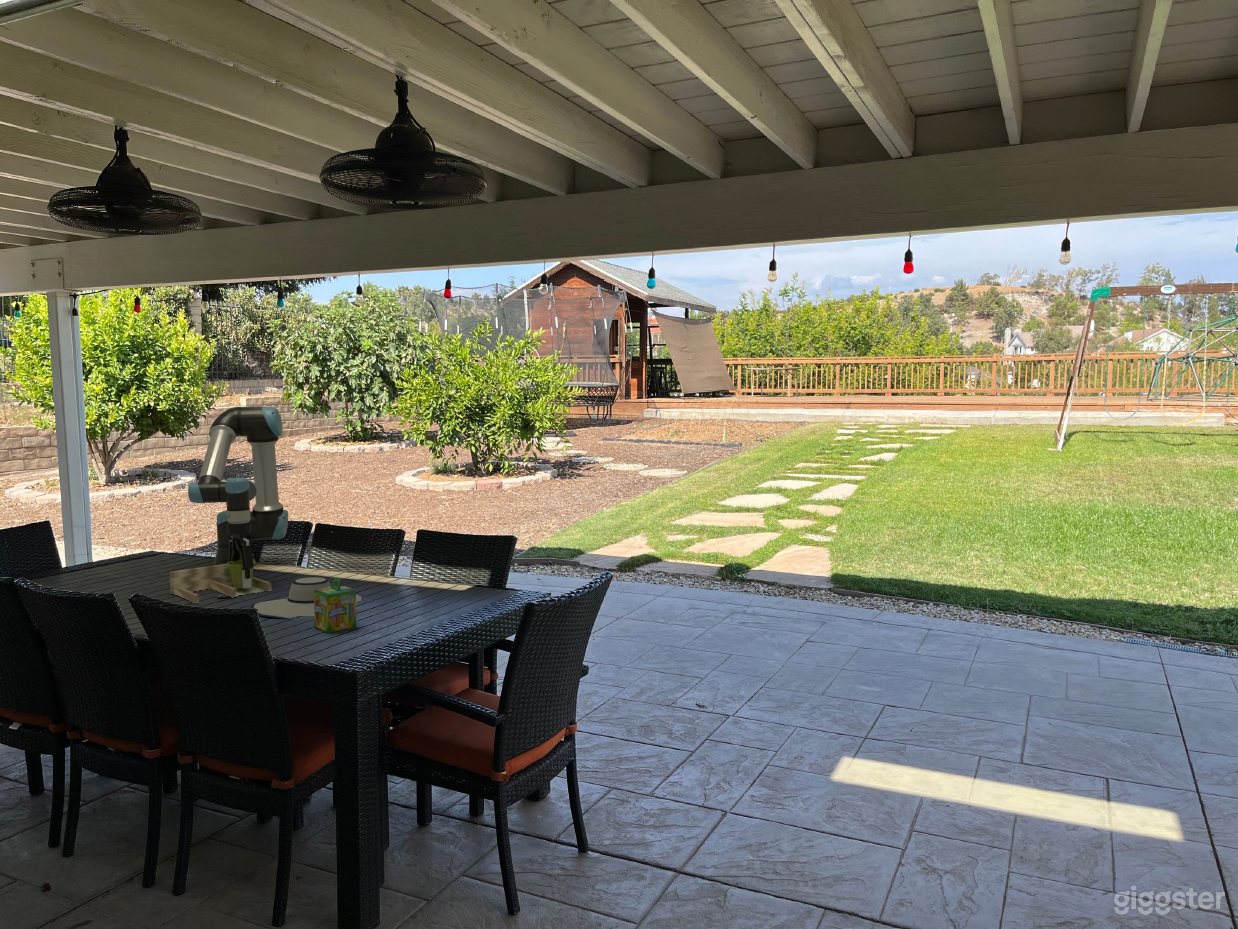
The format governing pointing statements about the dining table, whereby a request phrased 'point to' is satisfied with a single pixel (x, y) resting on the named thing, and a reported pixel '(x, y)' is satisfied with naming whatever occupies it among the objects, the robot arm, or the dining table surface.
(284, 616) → the sun hat
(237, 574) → the plant pot
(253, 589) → the notch rack
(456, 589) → the dining table surface
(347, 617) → the chalk box
